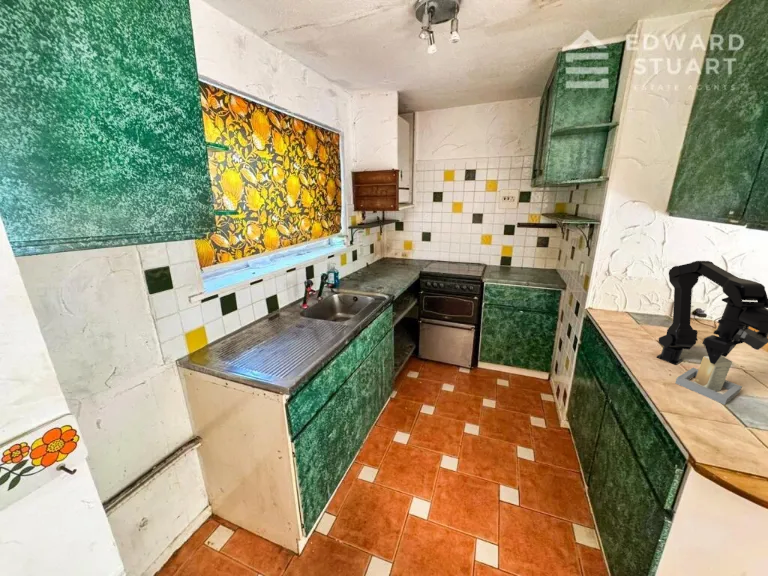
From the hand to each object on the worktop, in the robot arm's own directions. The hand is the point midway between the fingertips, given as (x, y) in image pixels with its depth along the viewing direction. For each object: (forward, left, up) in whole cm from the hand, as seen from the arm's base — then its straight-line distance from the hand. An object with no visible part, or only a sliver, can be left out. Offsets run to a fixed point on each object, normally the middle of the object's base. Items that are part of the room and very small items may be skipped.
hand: (718, 359), depth 105 cm
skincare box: (0, 0, -12) cm, 12 cm away
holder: (0, 0, -12) cm, 12 cm away
